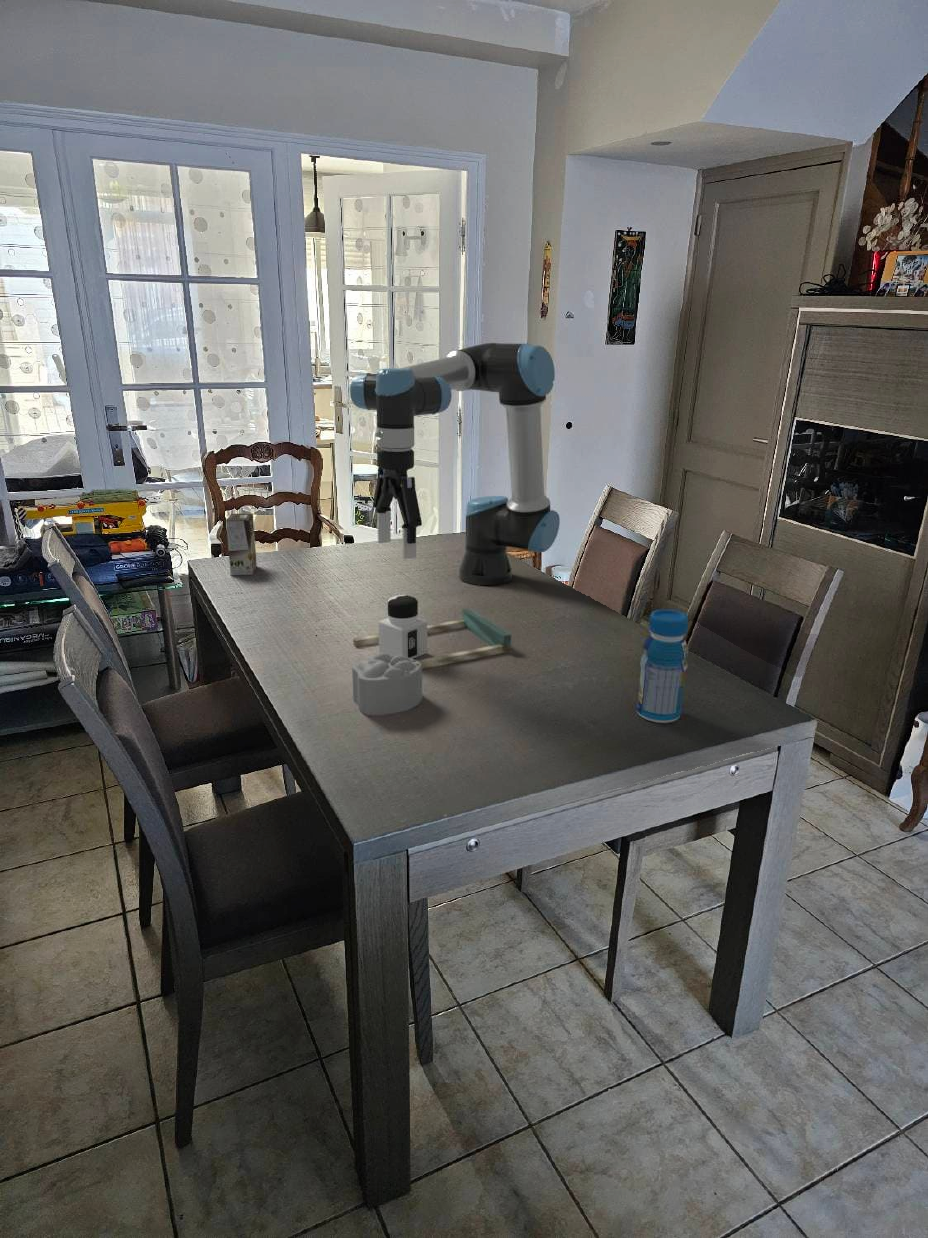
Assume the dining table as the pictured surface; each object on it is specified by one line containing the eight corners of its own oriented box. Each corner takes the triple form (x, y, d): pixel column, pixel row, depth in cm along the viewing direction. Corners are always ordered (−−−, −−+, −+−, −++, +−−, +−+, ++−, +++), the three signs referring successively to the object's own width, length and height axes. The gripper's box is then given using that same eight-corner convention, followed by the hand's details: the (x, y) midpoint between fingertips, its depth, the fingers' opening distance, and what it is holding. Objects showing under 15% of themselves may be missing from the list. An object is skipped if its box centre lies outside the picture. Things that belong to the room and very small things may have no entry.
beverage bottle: (653, 728, 146) (664, 626, 138) (626, 708, 153) (636, 610, 146) (690, 720, 149) (703, 619, 142) (662, 701, 156) (673, 604, 149)
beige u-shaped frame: (469, 623, 194) (469, 608, 192) (510, 651, 178) (511, 634, 177) (353, 644, 180) (352, 628, 179) (386, 676, 165) (386, 658, 163)
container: (427, 653, 176) (428, 598, 172) (402, 663, 171) (401, 606, 166) (404, 644, 181) (403, 589, 177) (378, 653, 176) (377, 597, 171)
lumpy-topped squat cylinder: (349, 695, 156) (348, 654, 153) (412, 685, 161) (412, 645, 158) (364, 718, 147) (363, 675, 144) (430, 707, 152) (430, 665, 149)
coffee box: (253, 575, 227) (248, 520, 222) (230, 575, 226) (225, 520, 221) (257, 566, 236) (253, 512, 230) (235, 566, 235) (230, 512, 229)
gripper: (356, 441, 170) (358, 537, 177) (403, 458, 149) (403, 567, 157) (389, 439, 173) (390, 534, 181) (439, 456, 153) (438, 563, 160)
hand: (396, 550), depth 169 cm, fingers open, 13 cm apart
